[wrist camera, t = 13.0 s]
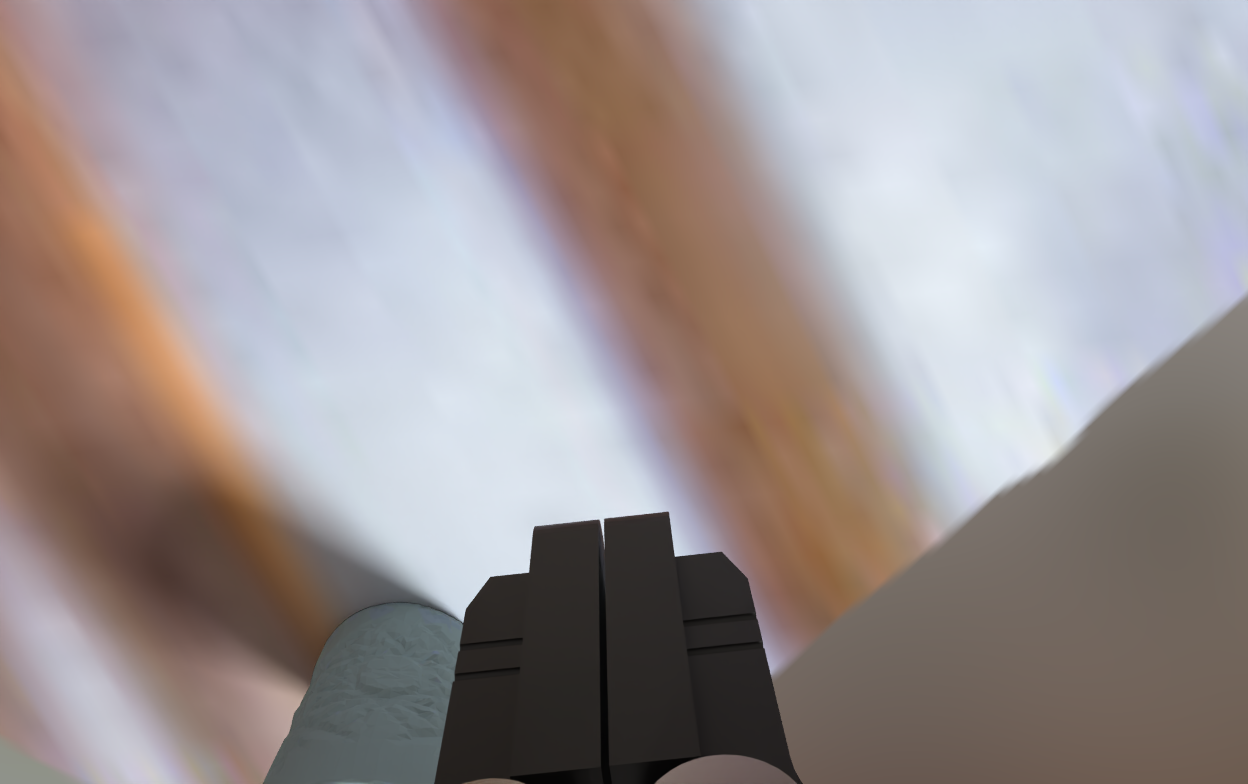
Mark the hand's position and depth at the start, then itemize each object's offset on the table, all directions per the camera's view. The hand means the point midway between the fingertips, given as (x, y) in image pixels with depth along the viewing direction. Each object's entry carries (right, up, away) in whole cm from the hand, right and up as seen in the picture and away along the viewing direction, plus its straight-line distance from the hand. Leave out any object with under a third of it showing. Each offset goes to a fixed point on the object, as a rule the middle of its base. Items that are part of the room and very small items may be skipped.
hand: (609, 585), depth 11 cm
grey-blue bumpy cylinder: (-11, -12, +40) cm, 43 cm away
